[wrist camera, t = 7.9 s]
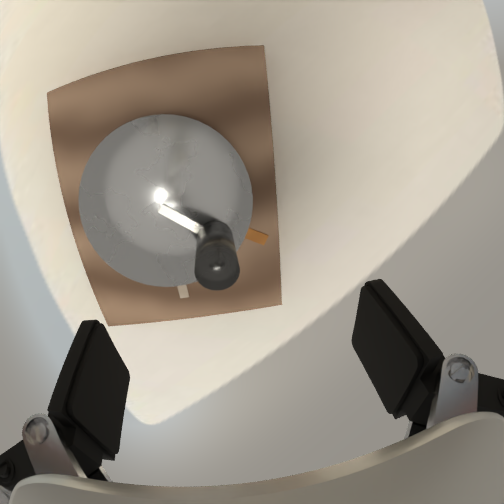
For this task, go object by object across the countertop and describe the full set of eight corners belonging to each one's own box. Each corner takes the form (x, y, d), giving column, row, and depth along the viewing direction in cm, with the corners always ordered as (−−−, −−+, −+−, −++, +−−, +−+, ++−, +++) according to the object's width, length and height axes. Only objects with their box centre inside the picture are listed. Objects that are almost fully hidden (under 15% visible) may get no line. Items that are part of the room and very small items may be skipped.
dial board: (58, 94, 16) (46, 92, 15) (259, 51, 18) (264, 45, 16) (113, 313, 26) (108, 327, 24) (277, 292, 28) (281, 305, 26)
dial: (64, 233, 20) (29, 270, 14) (133, 85, 16) (103, 71, 10) (196, 302, 24) (195, 353, 19) (284, 174, 20) (312, 195, 15)
